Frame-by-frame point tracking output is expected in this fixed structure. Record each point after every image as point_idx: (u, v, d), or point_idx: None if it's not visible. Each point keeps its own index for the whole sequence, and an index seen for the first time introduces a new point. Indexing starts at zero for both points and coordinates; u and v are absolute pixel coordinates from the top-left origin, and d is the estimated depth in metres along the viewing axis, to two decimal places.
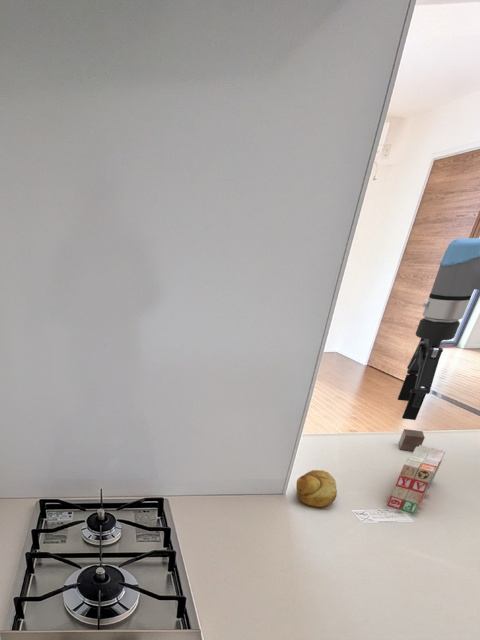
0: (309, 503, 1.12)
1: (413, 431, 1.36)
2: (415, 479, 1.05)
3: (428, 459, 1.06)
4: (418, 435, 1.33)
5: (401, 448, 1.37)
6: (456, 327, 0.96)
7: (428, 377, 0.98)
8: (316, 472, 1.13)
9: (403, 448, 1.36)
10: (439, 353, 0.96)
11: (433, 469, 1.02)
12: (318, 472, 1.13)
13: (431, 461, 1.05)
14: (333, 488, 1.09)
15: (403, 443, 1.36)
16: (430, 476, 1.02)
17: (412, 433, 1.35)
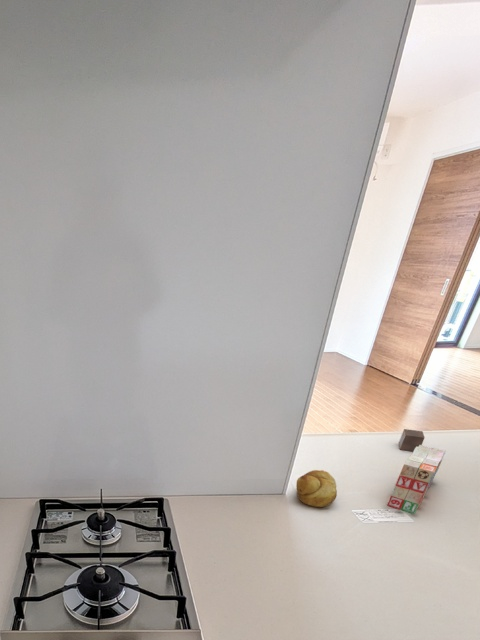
0: (309, 503, 1.12)
1: (413, 431, 1.36)
2: (415, 479, 1.05)
3: (428, 459, 1.06)
4: (418, 435, 1.33)
5: (401, 448, 1.37)
6: None
7: None
8: (316, 472, 1.13)
9: (403, 448, 1.36)
10: None
11: (433, 469, 1.02)
12: (318, 472, 1.13)
13: (431, 461, 1.05)
14: (333, 488, 1.09)
15: (403, 443, 1.36)
16: (430, 476, 1.02)
17: (412, 433, 1.35)
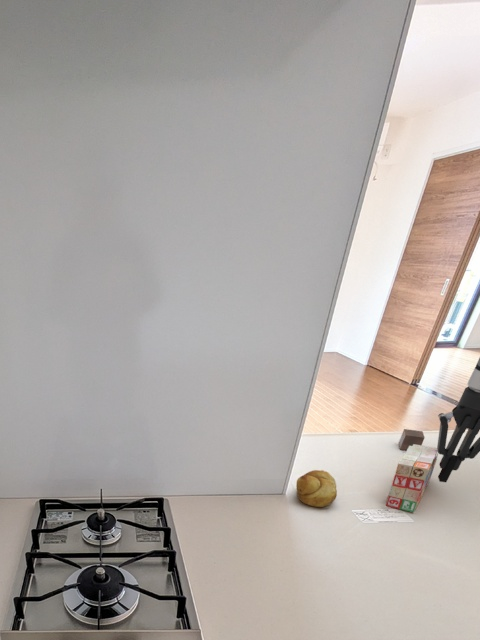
0: (309, 503, 1.12)
1: (413, 431, 1.36)
2: (410, 478, 1.05)
3: (421, 457, 1.07)
4: (418, 435, 1.33)
5: (401, 448, 1.37)
6: None
7: None
8: (316, 472, 1.13)
9: (403, 448, 1.36)
10: None
11: (428, 467, 1.03)
12: (318, 472, 1.13)
13: (425, 459, 1.06)
14: (333, 488, 1.09)
15: (403, 443, 1.36)
16: (425, 473, 1.03)
17: (412, 433, 1.35)
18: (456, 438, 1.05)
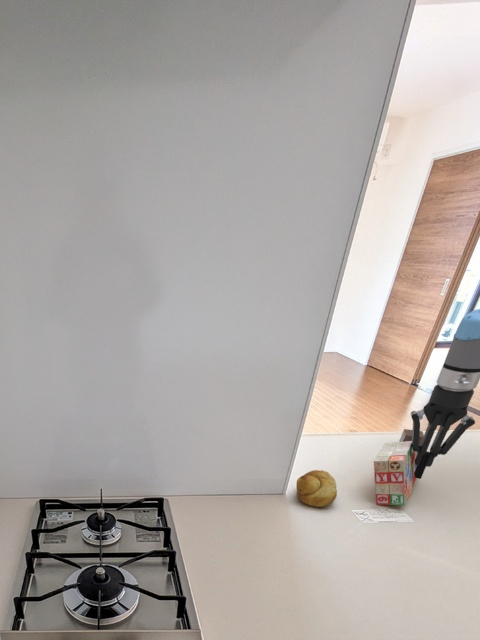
0: (309, 503, 1.12)
1: None
2: (389, 472, 1.07)
3: (396, 451, 1.09)
4: None
5: None
6: None
7: None
8: (316, 472, 1.13)
9: None
10: None
11: (402, 458, 1.05)
12: (318, 472, 1.13)
13: (399, 452, 1.08)
14: (333, 488, 1.09)
15: None
16: (402, 465, 1.05)
17: None
18: (428, 435, 1.07)
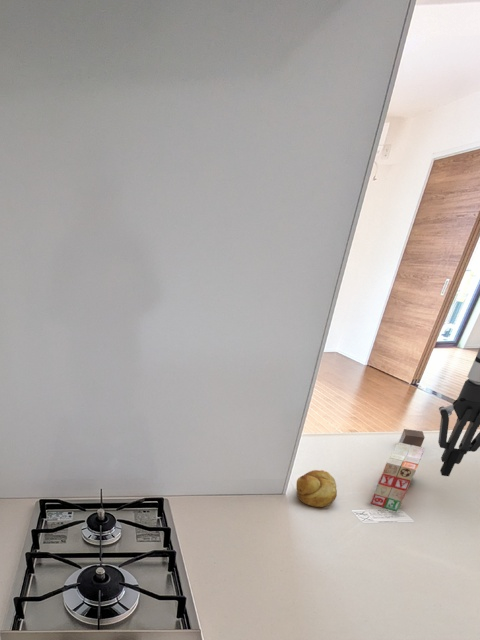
0: (309, 503, 1.12)
1: (413, 431, 1.36)
2: (397, 477, 1.06)
3: (409, 457, 1.07)
4: (418, 435, 1.33)
5: None
6: None
7: None
8: (316, 472, 1.13)
9: None
10: None
11: (415, 467, 1.04)
12: (318, 472, 1.13)
13: (412, 459, 1.07)
14: (333, 488, 1.09)
15: None
16: (412, 474, 1.04)
17: (412, 433, 1.35)
18: (457, 431, 1.04)
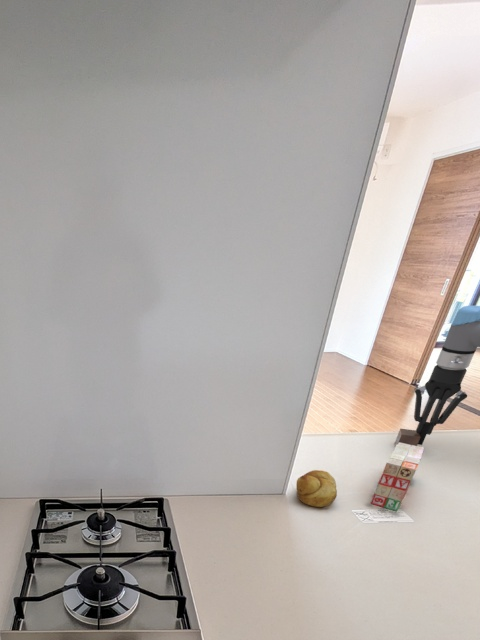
0: (309, 503, 1.12)
1: (409, 430, 1.36)
2: (397, 477, 1.06)
3: (409, 457, 1.07)
4: (414, 435, 1.34)
5: None
6: None
7: None
8: (316, 472, 1.13)
9: None
10: None
11: (415, 467, 1.04)
12: (318, 472, 1.13)
13: (412, 459, 1.07)
14: (333, 488, 1.09)
15: None
16: (412, 474, 1.04)
17: (408, 433, 1.35)
18: (428, 407, 1.29)
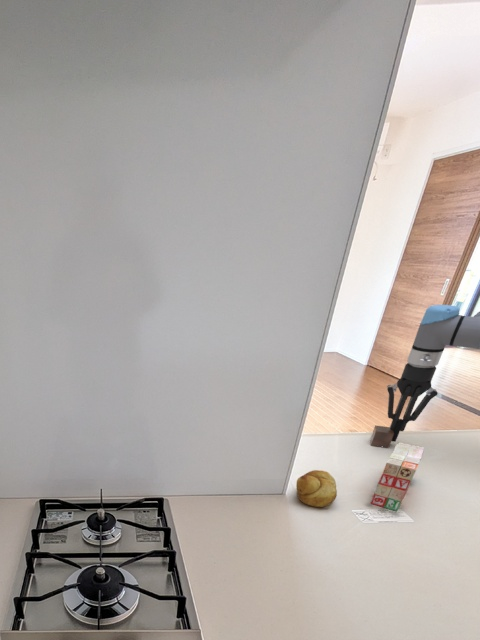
0: (309, 503, 1.12)
1: (383, 427, 1.39)
2: (397, 477, 1.06)
3: (409, 457, 1.07)
4: (388, 432, 1.36)
5: (372, 444, 1.40)
6: None
7: None
8: (316, 472, 1.13)
9: (373, 444, 1.39)
10: None
11: (415, 467, 1.04)
12: (318, 472, 1.13)
13: (412, 459, 1.07)
14: (333, 488, 1.09)
15: (374, 439, 1.39)
16: (412, 474, 1.04)
17: (382, 429, 1.38)
18: (401, 404, 1.32)
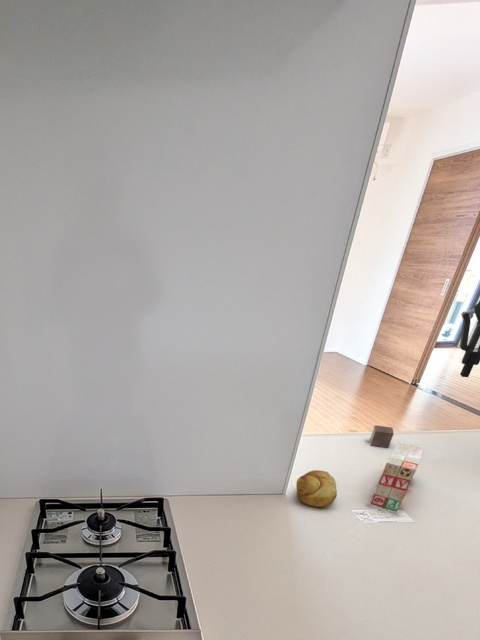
0: (309, 503, 1.12)
1: (383, 427, 1.39)
2: (397, 477, 1.06)
3: (409, 457, 1.07)
4: (387, 431, 1.36)
5: (371, 444, 1.40)
6: None
7: None
8: (316, 472, 1.13)
9: (373, 444, 1.39)
10: None
11: (415, 467, 1.04)
12: (318, 472, 1.13)
13: (412, 459, 1.07)
14: (333, 488, 1.09)
15: (373, 439, 1.39)
16: (412, 474, 1.04)
17: (382, 429, 1.38)
18: (477, 333, 1.19)
